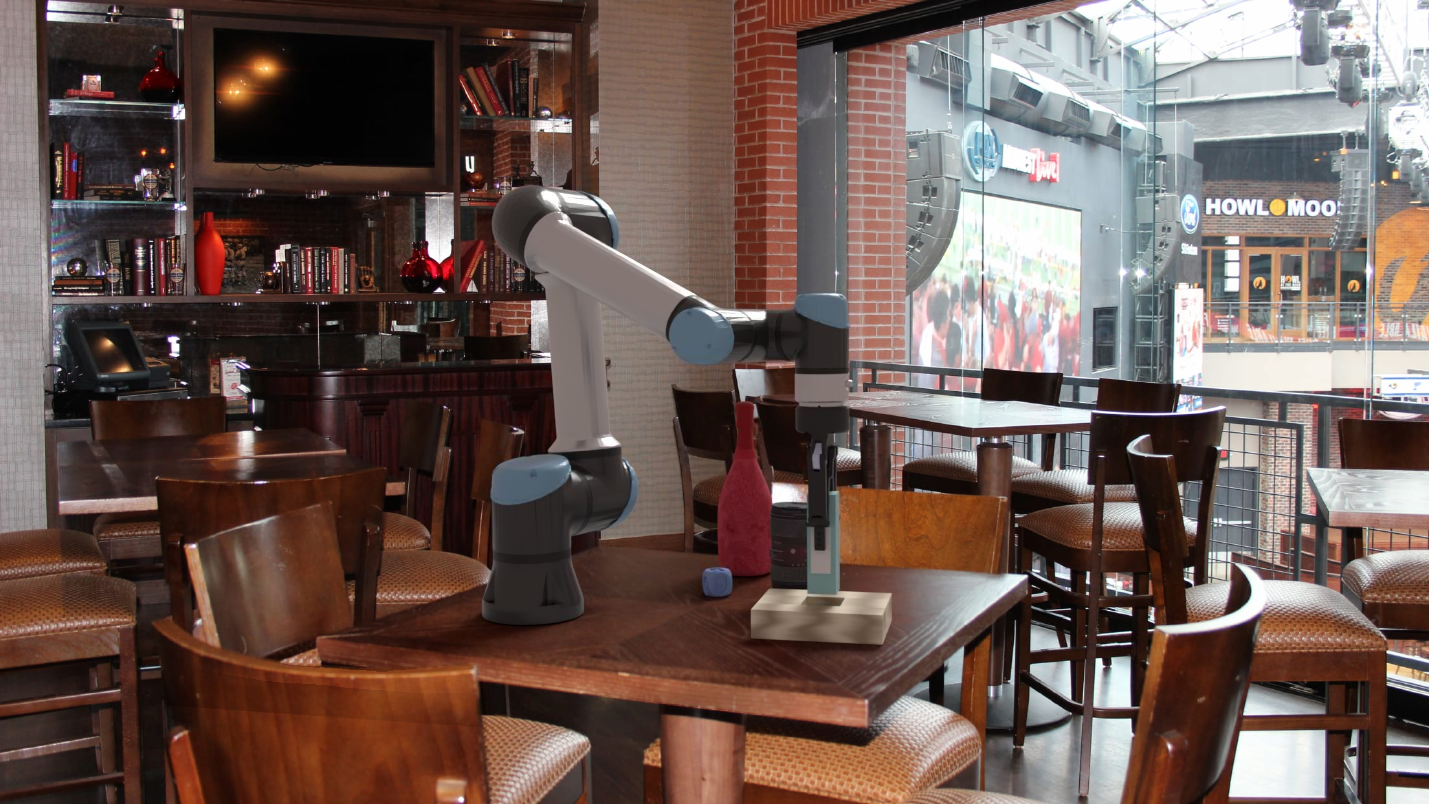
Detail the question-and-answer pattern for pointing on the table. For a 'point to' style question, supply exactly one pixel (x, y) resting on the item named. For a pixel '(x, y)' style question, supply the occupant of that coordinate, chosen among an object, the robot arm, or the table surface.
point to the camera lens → (788, 545)
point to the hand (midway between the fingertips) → (823, 569)
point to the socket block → (822, 616)
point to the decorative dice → (717, 582)
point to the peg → (831, 582)
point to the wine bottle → (745, 506)
